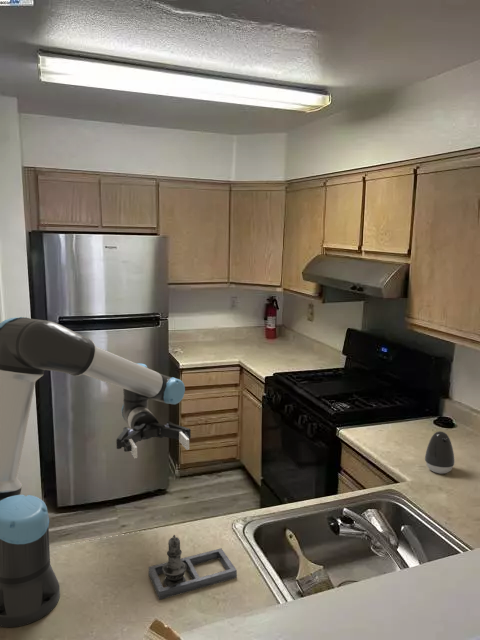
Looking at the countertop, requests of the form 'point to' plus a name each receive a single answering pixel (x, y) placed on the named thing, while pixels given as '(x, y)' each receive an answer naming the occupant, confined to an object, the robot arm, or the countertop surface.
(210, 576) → the grey flat rectangular frame
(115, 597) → the countertop surface
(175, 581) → the dark grey chess piece
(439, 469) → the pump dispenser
